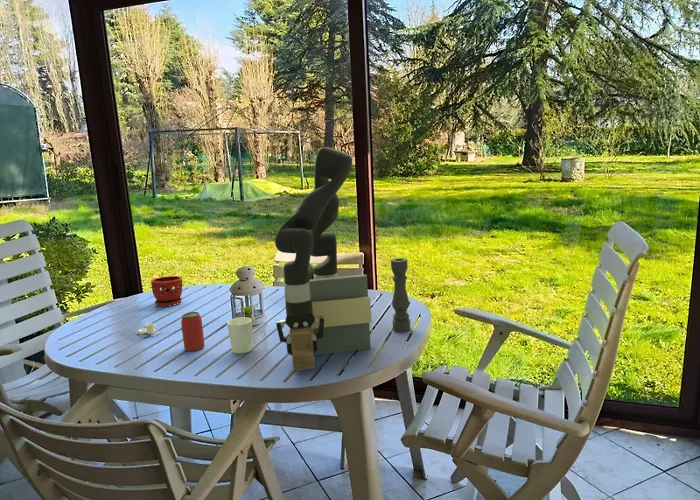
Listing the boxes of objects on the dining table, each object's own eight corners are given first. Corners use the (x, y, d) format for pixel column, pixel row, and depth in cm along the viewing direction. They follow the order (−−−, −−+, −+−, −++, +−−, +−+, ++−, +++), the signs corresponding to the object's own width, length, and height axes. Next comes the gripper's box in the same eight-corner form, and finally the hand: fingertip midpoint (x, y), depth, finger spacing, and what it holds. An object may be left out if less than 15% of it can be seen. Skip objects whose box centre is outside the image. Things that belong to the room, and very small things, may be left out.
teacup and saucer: (134, 335, 183) (133, 324, 182) (155, 329, 189) (154, 319, 188) (145, 340, 177) (143, 329, 176) (166, 333, 183) (164, 323, 182)
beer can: (187, 345, 168) (183, 312, 166) (206, 343, 169) (202, 310, 166) (182, 352, 162) (178, 318, 160) (202, 351, 162) (198, 316, 160)
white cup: (242, 356, 156) (239, 326, 154) (225, 352, 160) (222, 323, 158) (259, 347, 163) (256, 318, 161) (242, 343, 167) (239, 315, 165)
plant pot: (178, 307, 215) (175, 281, 213) (149, 309, 215) (145, 282, 213) (188, 299, 228) (185, 274, 225) (161, 300, 228) (157, 275, 226)
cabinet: (292, 357, 148) (289, 320, 145) (311, 355, 148) (309, 318, 146) (293, 372, 138) (290, 332, 135) (315, 369, 138) (312, 329, 136)
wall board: (294, 347, 160) (288, 277, 156) (365, 339, 164) (362, 270, 160) (296, 361, 149) (290, 285, 145) (372, 352, 153) (369, 278, 148)
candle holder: (409, 332, 169) (407, 261, 164) (391, 331, 170) (388, 261, 165) (411, 326, 175) (408, 257, 170) (393, 325, 176) (391, 258, 171)
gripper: (272, 304, 134) (277, 361, 137) (324, 298, 136) (328, 355, 139) (272, 296, 141) (277, 351, 144) (322, 291, 143) (325, 345, 146)
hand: (302, 353), depth 141 cm, fingers closed on cabinet, 6 cm apart
